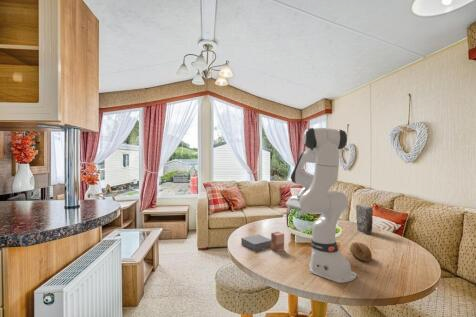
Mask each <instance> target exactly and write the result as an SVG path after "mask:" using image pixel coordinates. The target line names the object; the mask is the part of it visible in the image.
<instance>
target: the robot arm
mask: <svg viewBox="0 0 476 317" xmlns="http://www.w3.org/2000/svg"><path fill="white" fill-rule="evenodd" d="M302 141H303V146H305V147H306V148H307V149H305V150H303V151H302V152H301V154H300V155H299V157H298V159H297V161H296V164H295V166H294V169H293V171H292V172H291V174H290V179H291V182H292V183H294V184H295V185H299V186H301V187H302V189H300V190H299V191H298V192H299V193H297V195H293V196H291V197H289V198H288V199H287V201H286V202H285V206H286V207H287V209H288V210H287V209H286V213H288V214H290V210H291V209H295V210H299V211H300V213H298V214H297V215H298V216H299V217H302V215H305V214H309V215H310V214H312V215H318V214H319V217H318V218H317V219H316V220H315V221H314V222H313V223H312V226H311V227H312V228H311V231H312V232H311V233H312V234H311V236H312V237H311V242H310V246H311V255H310V261H309V264H308V268H309V273H311V274H313V275H316V276H319V277H321V278H325V279H327V280H329V281H332V282H335V283H338V284H344V283H348V282H351V281H354V280H355V279H356V278H357V273H356V272H354V271H352V266H351V262H350V261H349V260H348V259H347V258H346V257H345V256H344V255H343V253H342V252H341V251H340V250H339V248H340V247H341V244H338V243H337V241H336V229H337V228H336V227H337V224H338V221H339V219H340V216H341V215H342V214H343V212H344V211H346V210H347V208H348V207H349V200H348V197H347V195H346V194H345V193H344V192H342V191H336V190H330V188H331V187H332V186H333V185H335V184H336V183H337V182H338V179H339V167H340V166H339V165H340V152H339V151H340V150H343V149H344V148H345V147H346V145H347V143H348V134H347V132H346V131H345V130H343V129H335V128H326V127H315V128H313V127H309V128H306V129H305V130H304V133H303V135H302ZM305 163H309V164H310V163H312V164H315V166H314V171H313V173H314V174H312V173H310V172H307V171H305V170H304V169H303V168H304V165H305Z"/></svg>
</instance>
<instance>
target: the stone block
mask: <svg viewBox="0 0 476 317" xmlns="http://www.w3.org/2000/svg"><path fill="white" fill-rule="evenodd" d="M355 211H356V212H355V214H356V230H357V231H359V232H361V233H362V234H365V235H368V236H369V235H372V232H373V220H374V219H373V216H374V213H373V212H374V210H373V207H372V206H371V205H367V204H356V205H355Z"/></svg>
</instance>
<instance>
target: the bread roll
mask: <svg viewBox="0 0 476 317" xmlns="http://www.w3.org/2000/svg"><path fill="white" fill-rule="evenodd" d="M349 252H350V254H352V255H353V256H354V257H355V258H357V259H359V260H361V261H364V262H369V261H371V259H372V257H373V256H372V251H371V249H370V248H369V246H367V244H365V243H362V242H352V243H351V244H350V247H349Z"/></svg>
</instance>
